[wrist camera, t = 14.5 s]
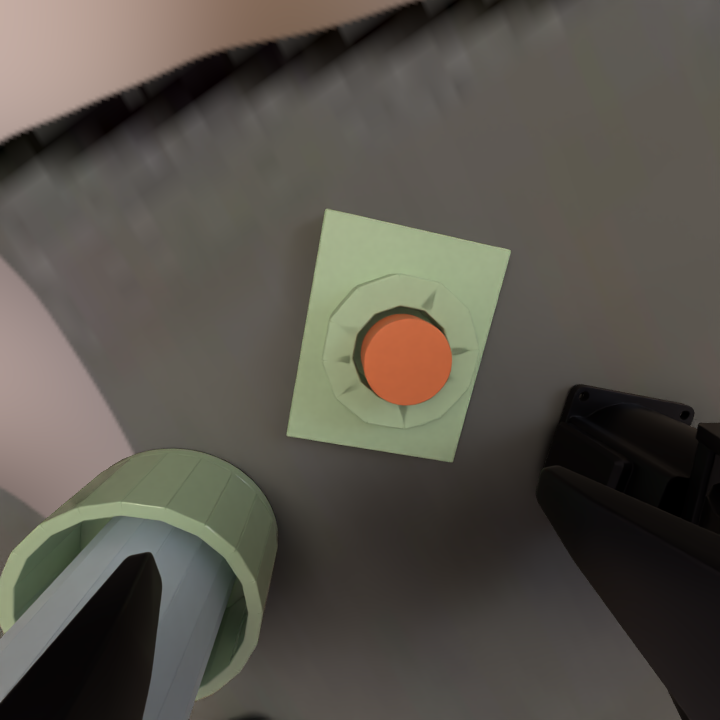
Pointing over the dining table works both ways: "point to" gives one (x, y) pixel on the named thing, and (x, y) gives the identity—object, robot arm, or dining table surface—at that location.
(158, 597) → the robot arm
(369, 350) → the button
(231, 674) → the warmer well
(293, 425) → the panel
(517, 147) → the dining table surface
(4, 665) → the bottle
